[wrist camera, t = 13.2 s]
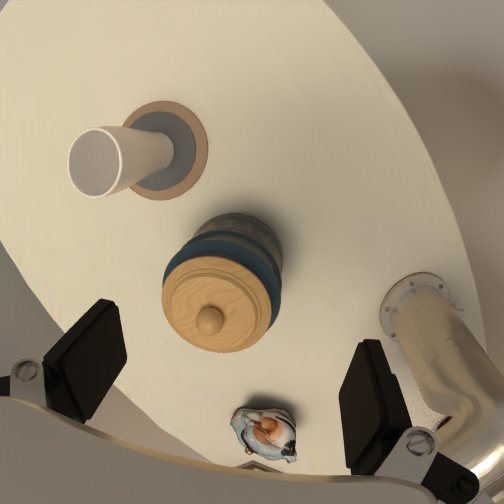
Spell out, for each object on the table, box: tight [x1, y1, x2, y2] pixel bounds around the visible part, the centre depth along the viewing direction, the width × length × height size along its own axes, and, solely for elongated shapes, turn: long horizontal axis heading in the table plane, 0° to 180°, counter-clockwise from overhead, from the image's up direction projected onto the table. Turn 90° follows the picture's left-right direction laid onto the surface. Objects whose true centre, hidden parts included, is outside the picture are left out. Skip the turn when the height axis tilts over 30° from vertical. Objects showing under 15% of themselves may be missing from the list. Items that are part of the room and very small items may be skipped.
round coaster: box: [122, 101, 208, 200], centre depth 37 cm, size 14×14×1 cm
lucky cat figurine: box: [230, 408, 297, 463], centre depth 49 cm, size 15×12×14 cm
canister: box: [162, 214, 283, 353], centre depth 34 cm, size 13×13×18 cm
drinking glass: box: [67, 126, 174, 199], centre depth 30 cm, size 7×7×15 cm
